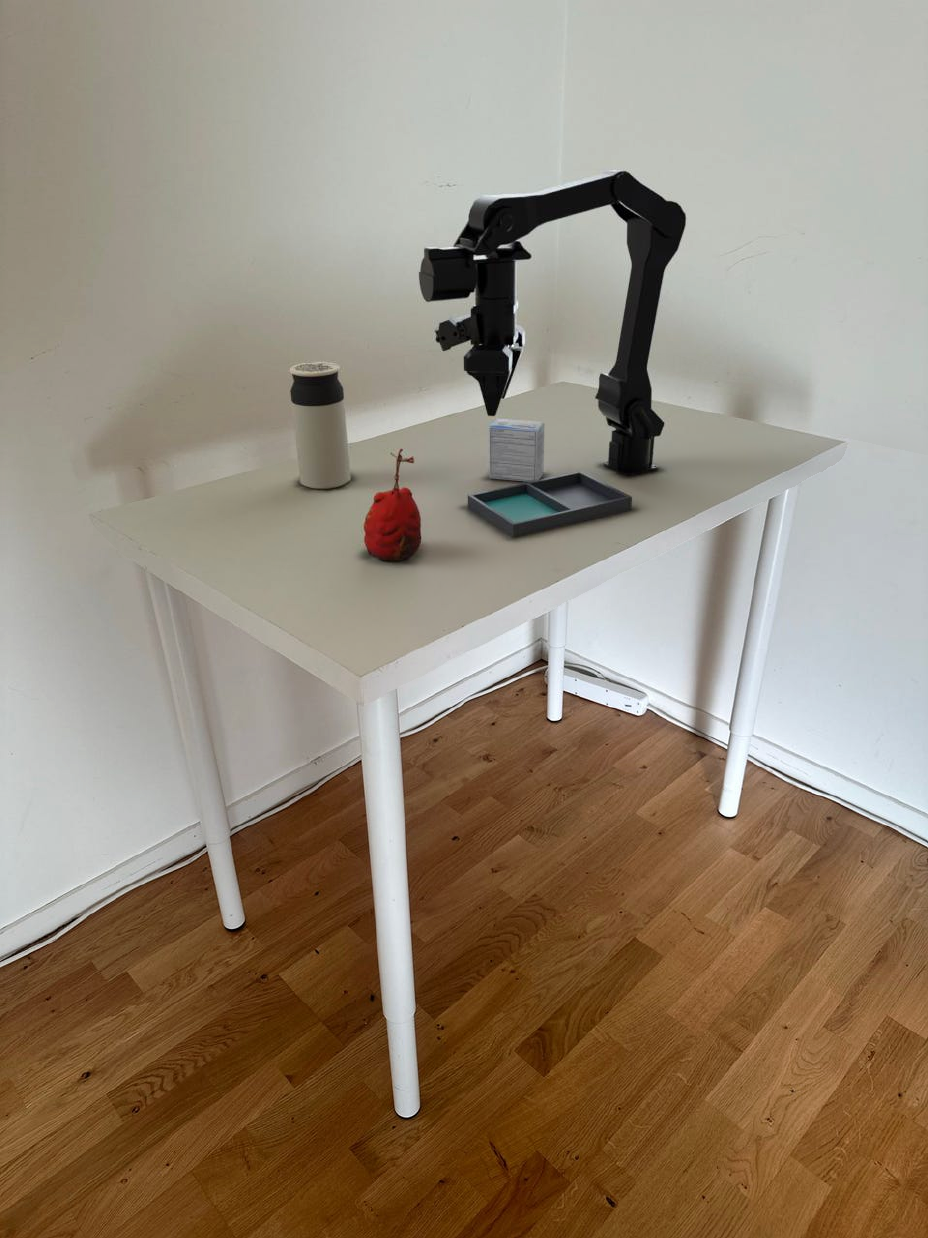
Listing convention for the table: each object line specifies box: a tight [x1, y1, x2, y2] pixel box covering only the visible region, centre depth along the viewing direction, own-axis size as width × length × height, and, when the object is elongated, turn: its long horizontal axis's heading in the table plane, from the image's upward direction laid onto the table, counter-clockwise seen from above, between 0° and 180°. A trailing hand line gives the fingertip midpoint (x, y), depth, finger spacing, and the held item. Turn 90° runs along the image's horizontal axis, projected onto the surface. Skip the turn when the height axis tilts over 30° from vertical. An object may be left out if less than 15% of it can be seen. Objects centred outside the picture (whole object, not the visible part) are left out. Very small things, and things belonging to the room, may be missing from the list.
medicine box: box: [488, 418, 545, 483], centre depth 142 cm, size 8×4×9 cm, turn 71°
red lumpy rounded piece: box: [363, 448, 422, 562], centre depth 116 cm, size 8×7×15 cm
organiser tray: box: [467, 470, 633, 539], centre depth 132 cm, size 20×13×2 cm, turn 118°
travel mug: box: [289, 361, 352, 490], centre depth 140 cm, size 8×8×18 cm
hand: (496, 406), depth 133 cm, fingers open, 9 cm apart
